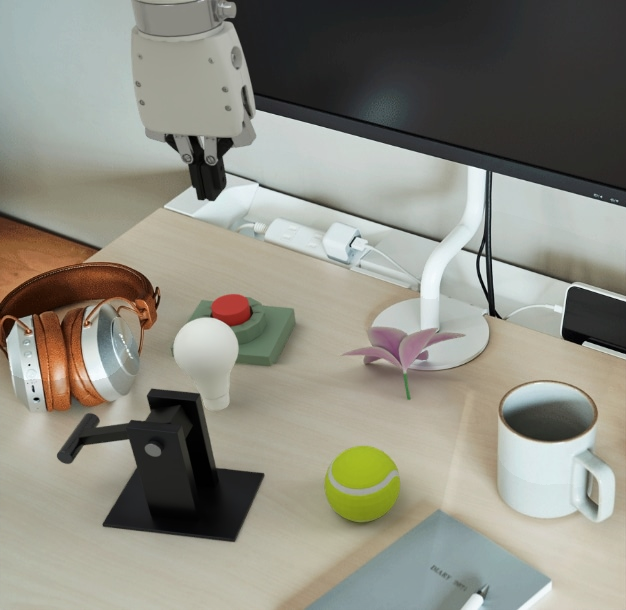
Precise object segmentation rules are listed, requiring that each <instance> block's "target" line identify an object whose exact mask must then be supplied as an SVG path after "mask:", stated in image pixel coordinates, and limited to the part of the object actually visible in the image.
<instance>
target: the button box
mask: <svg viewBox="0 0 626 610" xmlns="http://www.w3.org/2000/svg"><path fill="white" fill-rule="evenodd" d="M245 297H246V298H247V299H248V301H249V307H250V313H251V316H250V318H249V320H248V321H246V322H245V323H243V324H241V325H236V326H232V327H230V328H231V329H232V330H233V332H234V333H235V336H236V338H237V340H238V348H239V349H238V356H237V359H236V361H235V364H244V365H250V366H251V365H252V366H262V367H271V366H272V364H274V365H276V364H277V362H278V360H279V358H280V356H281V354H282V352H283V350H284V348H285V346H286V344H287V342H288V340H289V338H290V336H291V334H292V332H293V330H294V328H295V326H296V324H297V323H296V314H295V308H293V307H282V306H272V305H263V304H262V303H261V302H260V301H258V300H256V299H254V298H252V297H251V296H245ZM214 301H215V300H208V299H201V300H200V302H199V303H198V305H197V307H196V308H195V309H194V311H193V313H192V314H191V316H190V317H189V319H188V320H187V322H186V323H185V325H186V324H187V323H189V322H191V321H193V320H195V319H199V318H213V314H212V309H211V305H212V303H213V302H214ZM173 347H174V342H173V343H172V344H171V346H170V351H171V355H172V358H174V354H173Z"/></svg>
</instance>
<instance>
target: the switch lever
mask: <svg viewBox="0 0 626 610" xmlns="http://www.w3.org/2000/svg"><path fill="white" fill-rule="evenodd" d="M144 421H148V422H157V423H167V424H176V425H182V429H183V433H184V437H185V439H186V437H187V435H188V433H189V432H190V430H191V428H192V426H193V425H192V423H191V421H190V420H189V418H188V416H187V415H186V413H185V411H184V410H183V408H182V406H181V405H177V406H170V407H163V408H156V409H152V411H150V412H149V414H148V415H147V416H146V418H145V420H144ZM100 422H101V419H100V417H99V416H98V415H97V414H94V413H92V412H87V413H85V414H84V416H83V417H82V418H81V420H79V423H78V424H77V425H76V426H75V428H74V430H73V431H72V432H71V433H70V435H69V437H68V438H67V439H66V440H65V442H64V443H63V445H62V446H61V448H60V449H58V451H57V453H56V458H57V460H58V461H59V462H60V463H62V464H65V465H71V464H73V463H74V461H75V460H76V458H77V456H78V455H79V454H80V452H81V451H82V449H83V448H84V447H85V446H91V445H97V444H106V443H113V442H119V441H126V440H127V441H128V440H129V437H128V434H127V430H126V427H127V425H128V424H129V422H124V423H118V424H111V425H103V426H99V424H100Z"/></svg>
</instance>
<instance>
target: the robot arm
mask: <svg viewBox="0 0 626 610" xmlns="http://www.w3.org/2000/svg"><path fill="white" fill-rule="evenodd" d="M130 2H131V6H132V11H133V15H134V16H133V17H134V21H135V25H134V26H133V27H132V28H131V33H130V37H131V38H130V59H131V74H132V82H133V89H134V96H135V102H136V106H137V111H138V115H139V118H140V121H141V124H142V125H143V126H144V134H145V137H147V138H148V139H151V140H153V141H157V142H161V143H164V144H165V143H166V144H167V145H168V146H169V147H171V148H172V149H173V150H174V151H175V152H176V153H178V155H179V156H180V159H181V161H182V162H183V163H185V164H186V165H187V167H188V172H189V177H190V181H191V187H192V188H193V189H195V193H196V199H197V201H205V200H207V201H208V202H215V201H216V200H217V199H218V197H219V196H220V195H221V193H222V192H223V191H224V190H225V189H226V188H227V183H228V181H227V174H226V168H225V162H224V156H225V155H226V154H227V153H228V152H229V151H230V150H231V149H234V148H236V149H237V148H243V147H248V146H252V144H253V143H254V141H255V140H256V139H257V134H256V131H255V128H254V126H253V123H252V121H251V120H253V119H254V118H255V117H256V112H257V111H256V102H255V96H254V90H253V86H252V82H251V78H250V73H249V68H248V64H247V61H246V57H245V54H244V51H243V47H242V44H241V42H240V37H239V36H238V33H237V30H236V28H235V26H234V24H233V22H231V21H226V20H227V19H228V18H230V19H235V18H236V15H237V5H236V3H235V2H234V1H227V0H130ZM201 137H203V140H202V138H201Z"/></svg>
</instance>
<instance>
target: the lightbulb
mask: <svg viewBox="0 0 626 610" xmlns="http://www.w3.org/2000/svg"><path fill="white" fill-rule="evenodd" d="M186 323H187V322H186ZM186 323H185V324H184V325H183V326H182V327H181V328H180V329H179V330H178V332H177V333H176V335H175V338H174V341H173V343H174V347H173V354H174V357H173V358H174V361H175V362H176V364H177V366H178V368H179V370H181V371H182V372H183V374H185V375H186V376H188V377H189V378H190V379H191V380H192V381H193V383H194V385H195V387H196V389H197V393H200V395H201V400H202V404H203V406H204V407H205V409H206V410H208V411H210V412H219V411H224V410H225V409H226V408H228V406H229V405H230V401H231V400H230V389H231V383H230V382H231V381H230V377H231V371H232V369H233V368H234V366H235V364H236V363H235V361H236V359H237V356H238V349H239V348H238V340H237V338H236V336H235V333H234V332H233V330H232V329H231V328H230V327H229V326H228V325H227V324H225V323H224V322H222V321H220V320H218V319H214V318H199V319H195V320H193V321H191V322H189V323H187V324H186Z"/></svg>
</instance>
